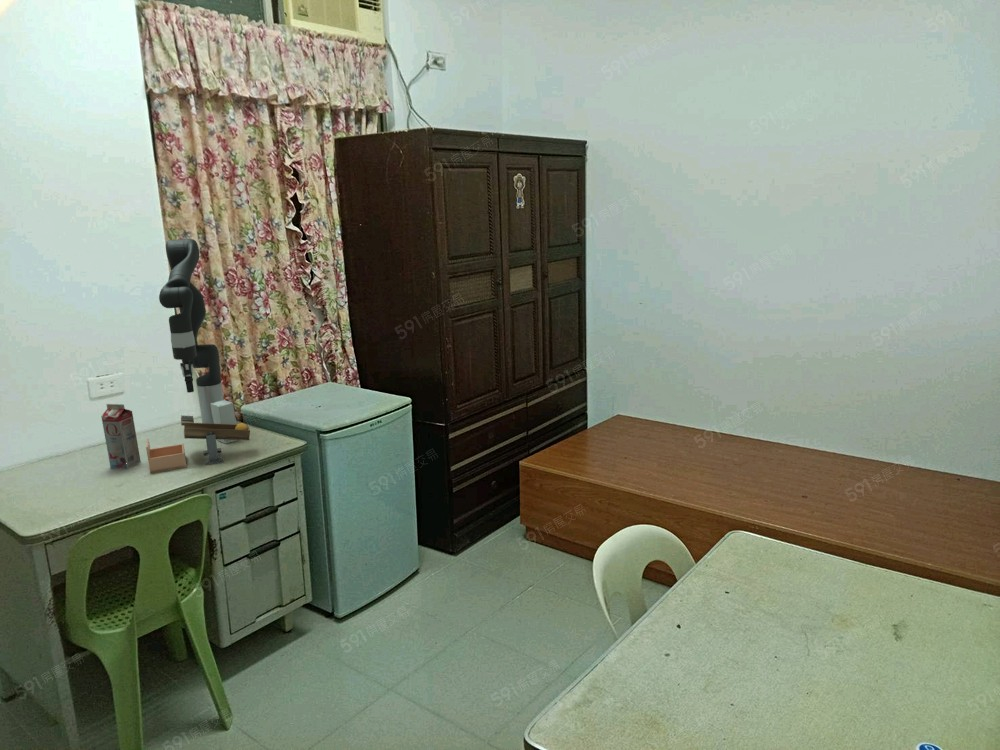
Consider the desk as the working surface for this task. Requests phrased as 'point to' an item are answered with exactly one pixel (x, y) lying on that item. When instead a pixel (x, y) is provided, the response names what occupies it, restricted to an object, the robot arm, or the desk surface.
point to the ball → (241, 427)
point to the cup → (166, 457)
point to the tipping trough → (212, 430)
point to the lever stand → (212, 450)
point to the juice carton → (120, 436)
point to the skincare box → (223, 415)
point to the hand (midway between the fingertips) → (190, 389)
